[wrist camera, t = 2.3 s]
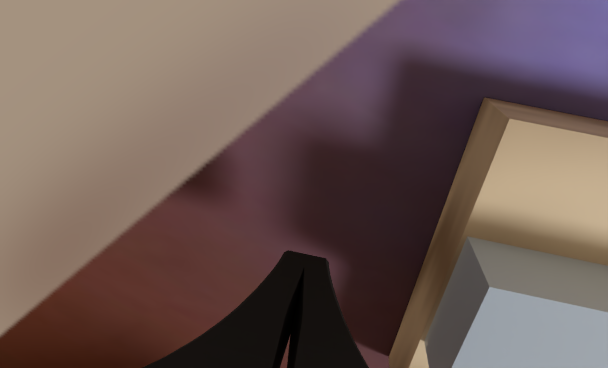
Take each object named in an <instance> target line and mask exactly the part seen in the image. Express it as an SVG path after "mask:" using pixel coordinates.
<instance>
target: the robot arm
mask: <svg viewBox="0 0 608 368" xmlns="http://www.w3.org/2000/svg"><path fill="white" fill-rule="evenodd" d="M289 337H290V344H289V353H288V363H287V368H369V367H368V366H367V364H366V362H365V360H364V359H363V357H362V355H361V353H360V351H359V349H358V348H357V346H356V344H355V342H354V340H353V338H352V336H351V333H350V331H349V329H348V327H347V324H346V322H345V320H344V317H343V315H342V312H341V309H340V306H339V303H338V301H337V298H336V295H335V291H334V288H333V284H332V280H331V276H330V271H329V262H328V261H327V259H326V258H321V257H317V256H312V255H307V254H303V253H298V252H293V251H289V250H288V251H286V252H284V253H283V255H282V257H281V259H280V260H279V262H278V263H277V265H276V266H275V267H274V269H273V270H272V271H271V272H270V274H269V275H268V276H267V277H266V278H265V280H264V281H263V282H262V283H261V284H260V285H259V286H258V287H257V289H256V290H255V291H254V292H253V293H252V294H251V295H249V296H248V297H247V298H246V299H245V300H244V301H243V302H242V303H241V304H240V305H239V306H238V307H237V308H236V309H235V310H234V311H232V312H231V313H230V314H229V315H228V316H226V317H225V318H224V319H223V320H221V321H220V322H219V323H217V324H216V325H215V326H213V327H212V328H210V329H209V330H208V331H206V332H205V333H204V334H202V335H201V336H199V337H198V338H196V339H194V340H193V341H191V342H190V343H188V344H186V345H184V346H183V347H181V348H179V349H178V350H176V351H174V352H173V353H171V354H169V355H167V356H165V357H164V358H162V359H160V360H158V361H156V362H154V363H151V364H149V365H147V366H145V367H143V368H280V365H281V362H282V359H283V356H284V353H285V350H286V346H287V343H288V340H289Z"/></svg>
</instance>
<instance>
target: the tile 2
mask: <svg viewBox="0 0 608 368" xmlns="http://www.w3.org/2000/svg"><path fill="white" fill-rule="evenodd" d="M424 343H425V348H426V354H427V359H428V365H429V368H608V266H607V265H602V264H597V263H592V262H587V261H583V260H578V259H573V258H568V257H564V256H559V255H554V254H549V253H545V252H540V251H535V250H530V249H525V248H521V247H516V246H511V245H506V244H502V243H497V242H492V241H487V240H483V239H478V238H473V237H468V236H467V238H466V241H465V243H464V246H463V248H462V251H461V253H460V255H459V258H458V260H457V263H456V265H455V268H454V270H453V272H452V275H451V277H450V280H449V282H448V285H447V287H446V289H445V292H444V294H443V297H442V299H441V302H440V304H439V306H438V309H437V311H436V314H435V316H434V319H433V321H432V323H431V326H430V328H429V331H428V333H427V336H426V338H425V341H424Z"/></svg>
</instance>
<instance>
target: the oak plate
mask: <svg viewBox="0 0 608 368" xmlns="http://www.w3.org/2000/svg"><path fill="white" fill-rule="evenodd" d="M467 236H468V237H473V238H478V239H483V240H487V241H492V242H497V243H502V244H506V245H511V246H516V247H521V248H525V249H530V250H535V251H540V252H545V253H549V254H554V255H559V256H564V257H568V258H573V259H578V260H583V261H587V262H592V263H597V264H602V265H607V266H608V121H603V120H598V119H593V118H588V117H583V116H577V115H572V114H567V113H562V112H557V111H552V110H547V109H542V108H536V107H531V106H526V105H521V104H516V103H511V102H506V101H501V100H495V99H490V98H485V97H484V99H483V102H482V104H481V107H480V110H479V113H478V115H477V118H476V121H475V123H474V126H473V129H472V132H471V134H470V137H469V140H468V143H467V145H466V148H465V151H464V153H463V156H462V159H461V162H460V164H459V167H458V170H457V172H456V175H455V178H454V181H453V183H452V186H451V189H450V192H449V194H448V197H447V200H446V202H445V205H444V208H443V211H442V213H441V216H440V219H439V222H438V224H437V227H436V230H435V232H434V235H433V238H432V241H431V243H430V246H429V249H428V252H427V254H426V257H425V260H424V262H423V265H422V268H421V271H420V273H419V276H418V279H417V282H416V284H415V287H414V290H413V292H412V295H411V298H410V301H409V303H408V306H407V309H406V312H405V314H404V317H403V320H402V322H401V325H400V328H399V331H398V333H397V336H396V339H395V341H394V344H393V347H392V350H391V352H390V355H389V368H429V365H428V359H427V354H426V348H425V343H424V341H425V338H426V336H427V333H428V331H429V328H430V326H431V323H432V321H433V319H434V316H435V314H436V311H437V309H438V306H439V304H440V302H441V299H442V297H443V294H444V292H445V289H446V287H447V285H448V282H449V280H450V277H451V275H452V272H453V270H454V268H455V265H456V263H457V260H458V258H459V255H460V253H461V251H462V248H463V246H464V243H465V241H466V238H467Z"/></svg>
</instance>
